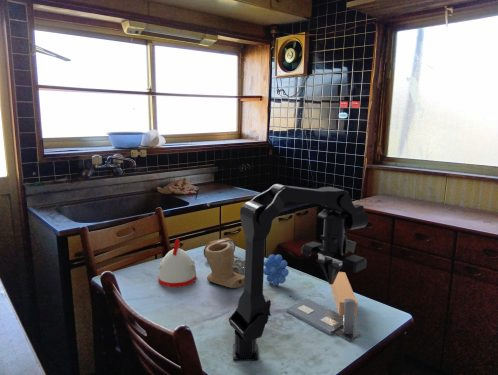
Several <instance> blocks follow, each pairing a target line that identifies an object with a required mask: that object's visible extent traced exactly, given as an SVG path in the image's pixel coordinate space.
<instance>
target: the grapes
mask: <svg viewBox="0 0 498 375" xmlns="http://www.w3.org/2000/svg"><path fill="white" fill-rule="evenodd" d="M267 258H268V259H264V275H265V276H266V281H267V282H268V283H271V284H273V286H279V284H284V283H285V282H286V281H287V279H286V277H288V276H289V274H290V271H289V269H288V268H287V266H288V262H287V261H286V260H284V259H283V257H282V255H281V254H276V255H275V254H270V255H269V256H268V257H267Z"/></svg>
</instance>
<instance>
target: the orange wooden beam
mask: <svg viewBox="0 0 498 375" xmlns="http://www.w3.org/2000/svg"><path fill="white" fill-rule="evenodd" d="M329 285H330V286H329V287H330V289H331V294H332V296H333V300H334V303H335V307H336V310H337V313H338V314H339V315H343V332H344V333H345V334H353V332H354V330H355V317H357V316H358V301H357V298H356V295H355V293H354V291H353V288H352V285H351V283H350V281H349V279H348V277H347V274H346V272H343V271H339V272H338V274H337V277H336V279H335V281H334V283H333V284H332V285H331V284H329Z"/></svg>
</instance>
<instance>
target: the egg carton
mask: <svg viewBox="0 0 498 375" xmlns="http://www.w3.org/2000/svg"><path fill="white" fill-rule="evenodd" d="M243 267H244V268H243ZM233 272H234V273H235V272H236V273H238V274H245V259H243V258H236V257H235V256H234V261H233Z"/></svg>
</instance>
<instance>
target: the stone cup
mask: <svg viewBox="0 0 498 375" xmlns="http://www.w3.org/2000/svg"><path fill="white" fill-rule="evenodd" d="M234 253H235V251H234V252H233V248H232V246H231V245H230V244H229V243H227V242H225V243H222V242H217V243H213V244H211V245H209V246H208V247H207V248H206V249H205V256H206V258H205V259H206V262H207V263H208V266H209V268H210V270H211V271H210V272H211V273H209V274H208V275H207V276H206V279H207V281H209V282H211V283H214V284H217V285H220V286H224V287H226V288H230V289H238V288H240V287H244V280H245V274H244V275H243V274H242V273H238V272H235V271H234V272H233V267H234V266H233V261H234V257H235V256H234V255H235V254H234ZM205 256H204V257H205Z"/></svg>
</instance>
